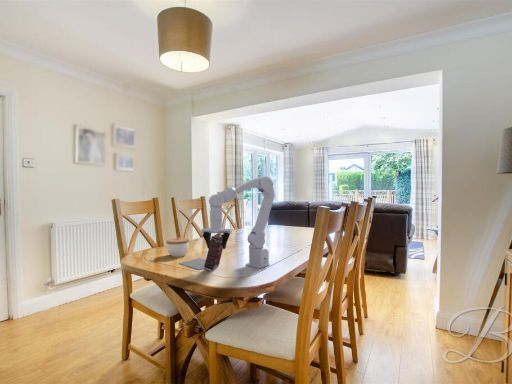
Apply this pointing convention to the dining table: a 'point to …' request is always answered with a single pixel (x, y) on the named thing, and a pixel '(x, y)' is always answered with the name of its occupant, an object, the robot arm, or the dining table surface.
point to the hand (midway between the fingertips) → (216, 248)
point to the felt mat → (195, 263)
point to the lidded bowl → (177, 246)
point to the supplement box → (214, 252)
